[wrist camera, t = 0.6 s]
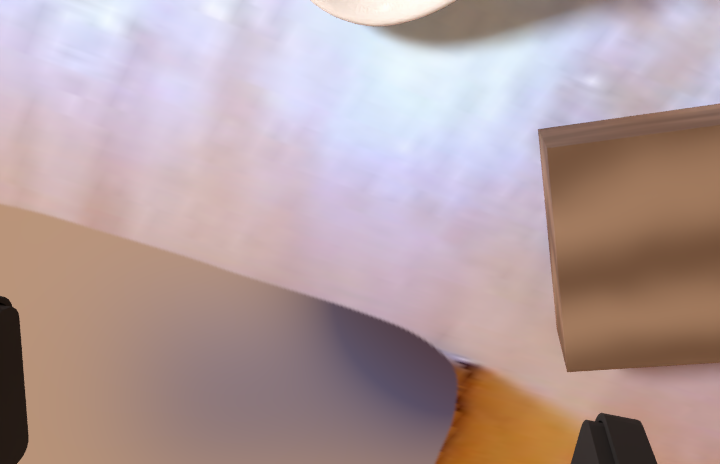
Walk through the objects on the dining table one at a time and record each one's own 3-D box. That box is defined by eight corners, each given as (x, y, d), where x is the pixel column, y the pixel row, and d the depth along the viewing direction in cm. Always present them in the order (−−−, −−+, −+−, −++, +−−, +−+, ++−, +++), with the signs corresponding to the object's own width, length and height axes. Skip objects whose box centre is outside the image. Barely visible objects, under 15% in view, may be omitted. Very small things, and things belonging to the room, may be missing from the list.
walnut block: (537, 128, 41) (546, 148, 36) (783, 93, 38) (835, 109, 33) (556, 326, 46) (567, 371, 40) (779, 309, 43) (824, 355, 37)
